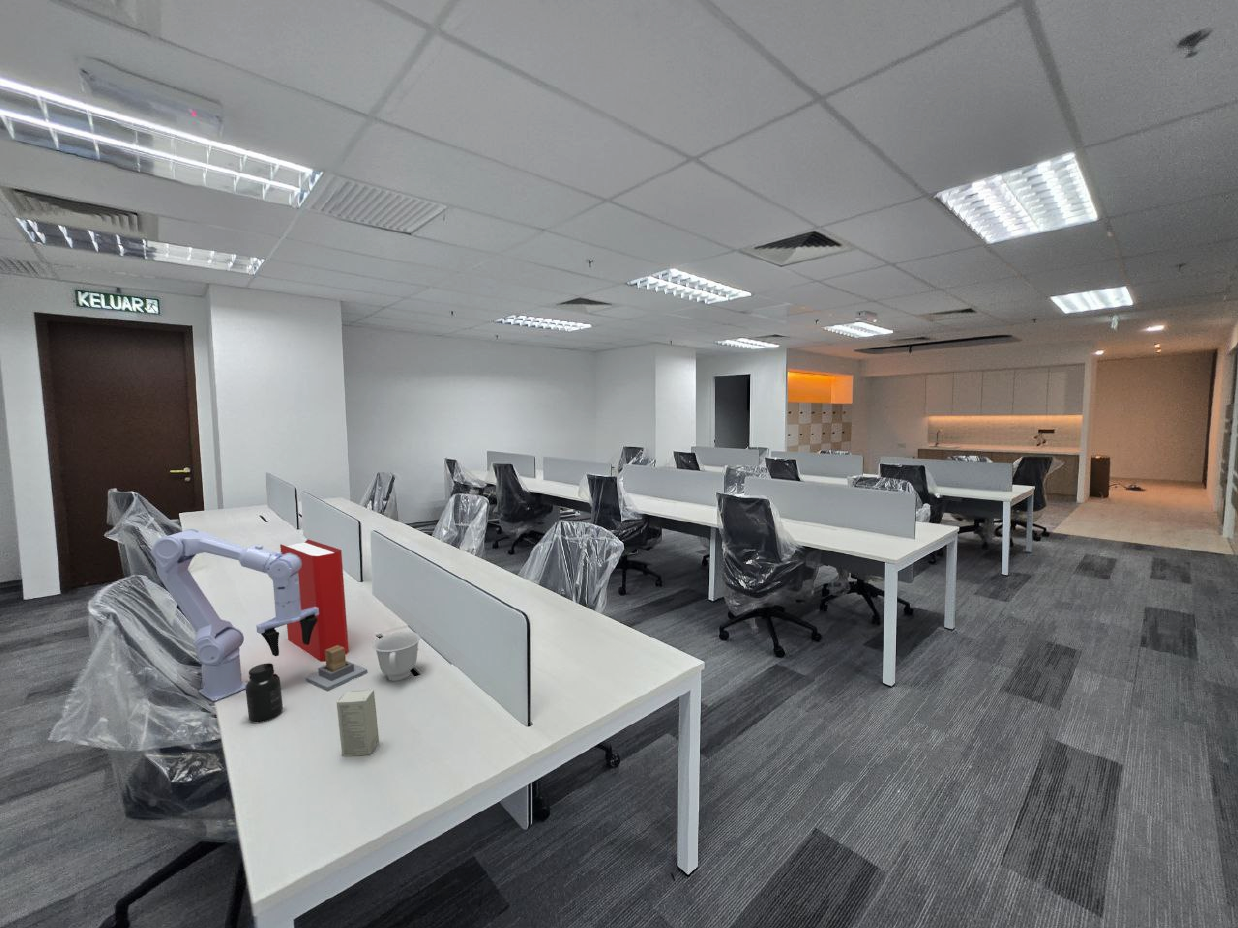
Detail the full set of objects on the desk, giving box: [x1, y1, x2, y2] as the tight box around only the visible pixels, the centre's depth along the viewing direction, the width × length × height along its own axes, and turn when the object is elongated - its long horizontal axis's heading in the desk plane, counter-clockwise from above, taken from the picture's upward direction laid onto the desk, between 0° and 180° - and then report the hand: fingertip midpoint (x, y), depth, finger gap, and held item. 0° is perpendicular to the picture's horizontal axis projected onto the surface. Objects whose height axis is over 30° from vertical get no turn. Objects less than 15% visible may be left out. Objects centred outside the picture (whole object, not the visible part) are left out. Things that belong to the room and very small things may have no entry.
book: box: [279, 539, 350, 663], centre depth 157 cm, size 27×8×32 cm, turn 52°
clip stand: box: [305, 660, 368, 692], centre depth 138 cm, size 11×11×3 cm
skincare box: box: [336, 689, 380, 757], centre depth 106 cm, size 6×4×12 cm
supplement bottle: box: [244, 663, 284, 723], centre depth 120 cm, size 7×7×12 cm
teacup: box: [372, 631, 421, 681], centre depth 136 cm, size 12×15×10 cm
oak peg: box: [325, 645, 347, 672], centre depth 138 cm, size 4×4×7 cm
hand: (291, 649), depth 134 cm, fingers open, 7 cm apart
